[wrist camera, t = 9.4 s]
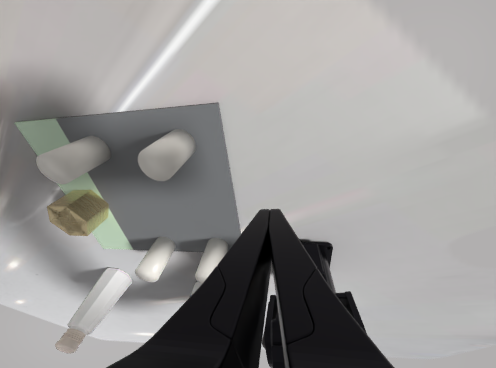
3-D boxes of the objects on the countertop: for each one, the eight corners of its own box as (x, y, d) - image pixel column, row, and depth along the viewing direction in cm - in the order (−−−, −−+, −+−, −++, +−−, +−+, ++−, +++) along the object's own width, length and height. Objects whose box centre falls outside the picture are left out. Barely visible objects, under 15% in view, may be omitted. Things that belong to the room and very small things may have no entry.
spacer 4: (229, 252, 28) (221, 286, 24) (209, 252, 28) (198, 285, 24) (226, 237, 26) (216, 271, 22) (205, 237, 27) (192, 269, 23)
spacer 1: (115, 160, 22) (77, 183, 18) (92, 161, 23) (50, 184, 18) (102, 134, 21) (57, 153, 16) (78, 136, 21) (28, 155, 17)
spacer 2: (198, 156, 21) (178, 180, 16) (172, 157, 21) (146, 181, 17) (191, 128, 19) (167, 146, 15) (163, 130, 19) (131, 148, 15)
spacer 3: (178, 251, 29) (161, 282, 25) (159, 250, 30) (140, 281, 26) (172, 236, 28) (153, 268, 24) (152, 236, 28) (131, 266, 24)
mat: (243, 251, 28) (243, 253, 28) (104, 246, 32) (103, 248, 31) (218, 102, 18) (217, 103, 17) (17, 121, 22) (13, 123, 21)
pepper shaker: (132, 288, 38) (85, 361, 28) (104, 278, 37) (47, 350, 28) (133, 273, 35) (81, 349, 26) (103, 263, 34) (39, 337, 25)
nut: (116, 217, 27) (96, 236, 24) (84, 216, 28) (61, 235, 25) (100, 189, 25) (76, 206, 22) (65, 190, 26) (37, 206, 23)
